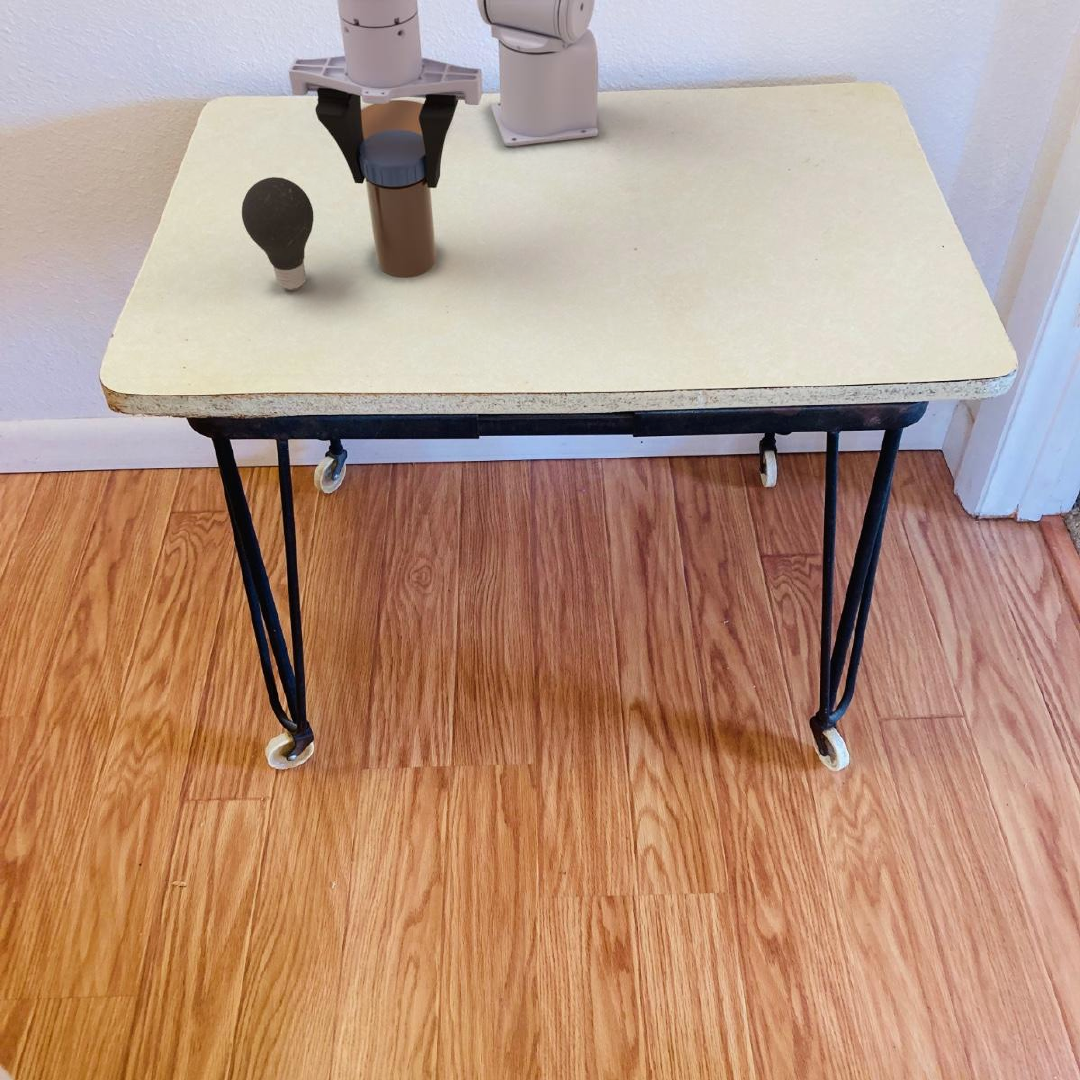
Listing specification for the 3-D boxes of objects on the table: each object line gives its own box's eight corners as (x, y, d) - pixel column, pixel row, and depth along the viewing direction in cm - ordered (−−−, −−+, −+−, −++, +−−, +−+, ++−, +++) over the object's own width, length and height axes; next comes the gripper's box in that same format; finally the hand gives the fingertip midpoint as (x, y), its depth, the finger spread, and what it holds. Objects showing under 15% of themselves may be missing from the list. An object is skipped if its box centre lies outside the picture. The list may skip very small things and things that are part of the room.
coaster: (433, 100, 113) (433, 95, 113) (447, 144, 108) (446, 140, 107) (347, 109, 112) (346, 105, 112) (356, 155, 106) (355, 150, 106)
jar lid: (385, 143, 91) (382, 122, 90) (444, 160, 89) (442, 139, 88) (347, 176, 88) (344, 155, 86) (408, 194, 86) (405, 173, 85)
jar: (429, 238, 97) (419, 133, 90) (442, 271, 94) (433, 165, 86) (372, 247, 96) (357, 142, 89) (382, 281, 93) (368, 175, 86)
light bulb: (333, 269, 94) (314, 164, 87) (318, 309, 91) (297, 204, 83) (269, 265, 95) (245, 161, 87) (252, 305, 91) (225, 200, 83)
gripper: (266, 30, 77) (298, 200, 87) (468, 40, 76) (477, 211, 86) (291, -13, 81) (319, 154, 92) (483, -3, 80) (489, 164, 91)
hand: (397, 179), depth 89 cm, fingers closed on jar lid, 5 cm apart
